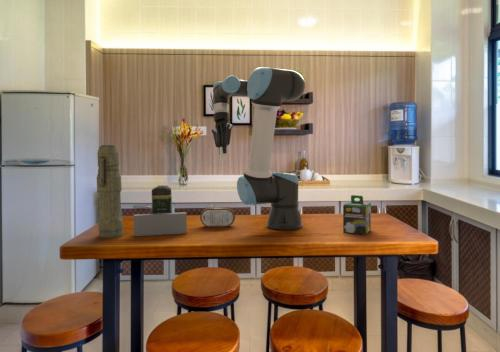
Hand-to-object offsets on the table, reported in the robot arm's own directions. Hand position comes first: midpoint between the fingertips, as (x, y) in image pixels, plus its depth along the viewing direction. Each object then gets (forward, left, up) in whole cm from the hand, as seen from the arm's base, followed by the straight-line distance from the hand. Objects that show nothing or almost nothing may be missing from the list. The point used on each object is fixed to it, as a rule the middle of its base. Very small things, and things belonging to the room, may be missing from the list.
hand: (223, 160), depth 171 cm
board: (-15, +36, -28) cm, 48 cm away
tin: (-15, +11, -28) cm, 34 cm away
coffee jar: (-9, +34, -28) cm, 45 cm away
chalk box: (-55, -31, -28) cm, 69 cm away
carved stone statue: (-6, +53, -28) cm, 61 cm away
